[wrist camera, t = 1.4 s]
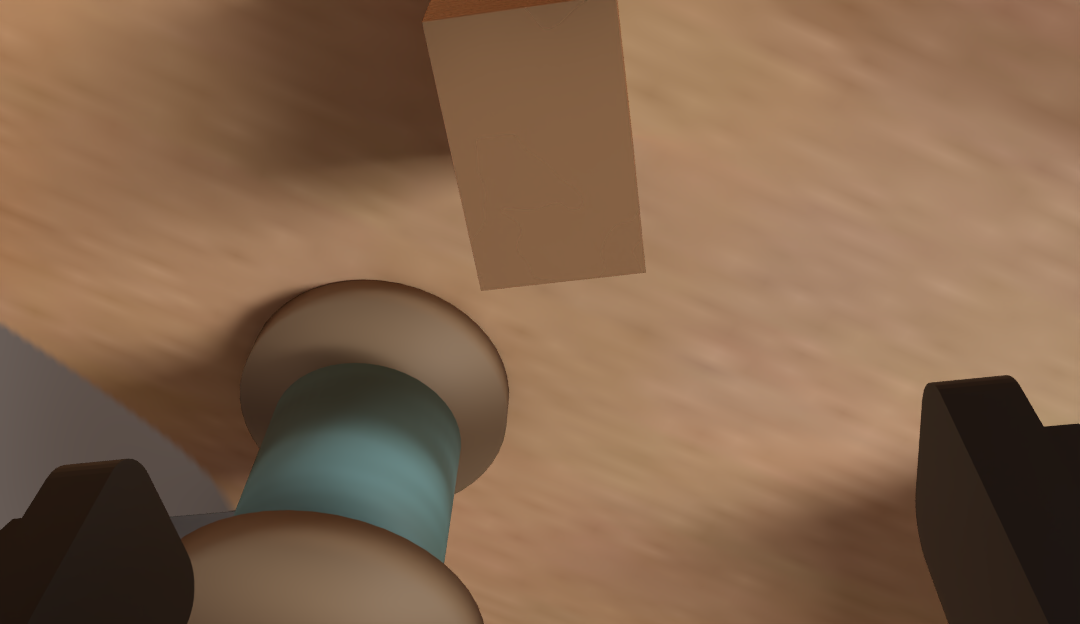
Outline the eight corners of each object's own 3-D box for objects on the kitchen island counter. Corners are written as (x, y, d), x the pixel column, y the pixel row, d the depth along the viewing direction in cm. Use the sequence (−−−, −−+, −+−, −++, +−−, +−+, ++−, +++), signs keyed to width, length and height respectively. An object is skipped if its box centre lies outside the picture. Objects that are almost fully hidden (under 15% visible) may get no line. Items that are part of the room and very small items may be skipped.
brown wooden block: (460, -74, 21) (421, 22, 16) (606, -97, 20) (615, -6, 15) (502, 148, 23) (481, 290, 18) (631, 132, 23) (645, 272, 18)
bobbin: (214, 295, 26) (66, 566, 18) (483, 265, 25) (441, 535, 18) (292, 493, 30) (196, 783, 22) (527, 472, 29) (509, 765, 21)
